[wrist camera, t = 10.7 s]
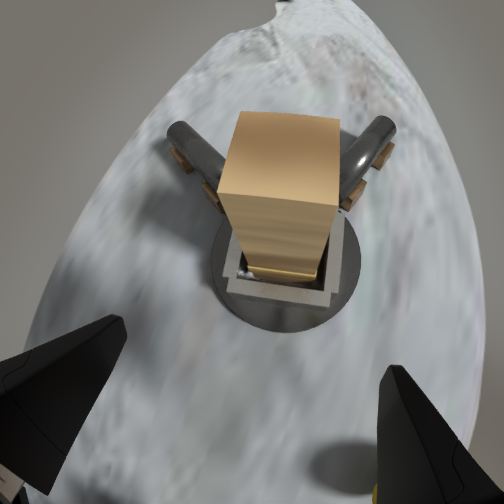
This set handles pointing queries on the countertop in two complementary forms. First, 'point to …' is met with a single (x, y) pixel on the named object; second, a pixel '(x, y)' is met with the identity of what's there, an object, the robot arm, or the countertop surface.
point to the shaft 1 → (197, 158)
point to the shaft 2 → (364, 159)
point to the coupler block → (282, 191)
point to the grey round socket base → (285, 293)
